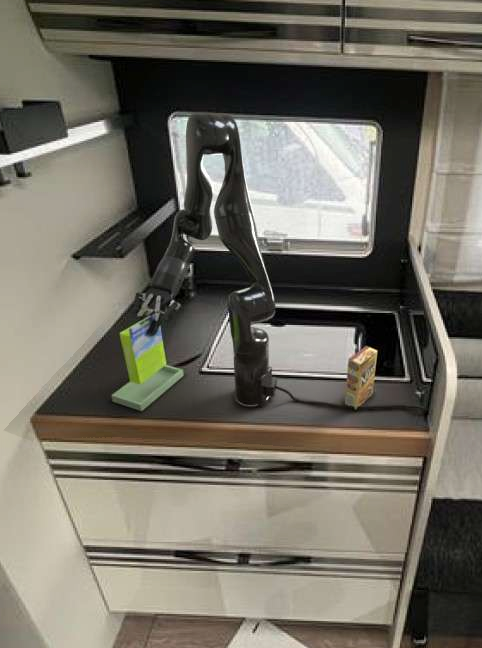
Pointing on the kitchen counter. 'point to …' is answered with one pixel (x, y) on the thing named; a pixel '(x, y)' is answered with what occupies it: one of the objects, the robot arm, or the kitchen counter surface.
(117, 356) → the kitchen counter surface
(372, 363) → the candy box
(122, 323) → the kitchen counter surface
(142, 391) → the green shallow tray
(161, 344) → the box
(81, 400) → the kitchen counter surface
